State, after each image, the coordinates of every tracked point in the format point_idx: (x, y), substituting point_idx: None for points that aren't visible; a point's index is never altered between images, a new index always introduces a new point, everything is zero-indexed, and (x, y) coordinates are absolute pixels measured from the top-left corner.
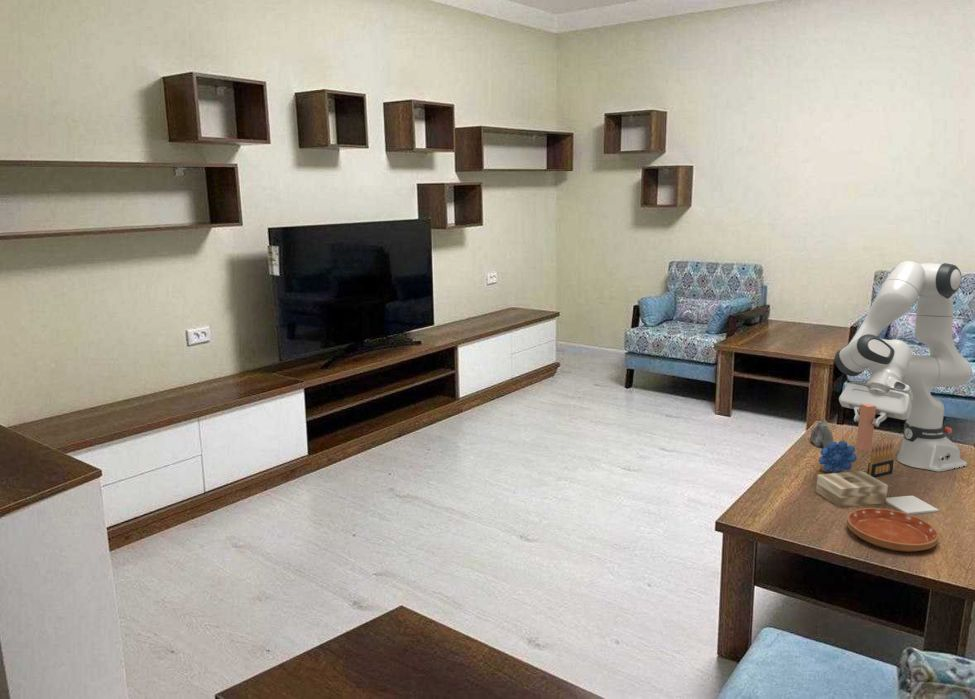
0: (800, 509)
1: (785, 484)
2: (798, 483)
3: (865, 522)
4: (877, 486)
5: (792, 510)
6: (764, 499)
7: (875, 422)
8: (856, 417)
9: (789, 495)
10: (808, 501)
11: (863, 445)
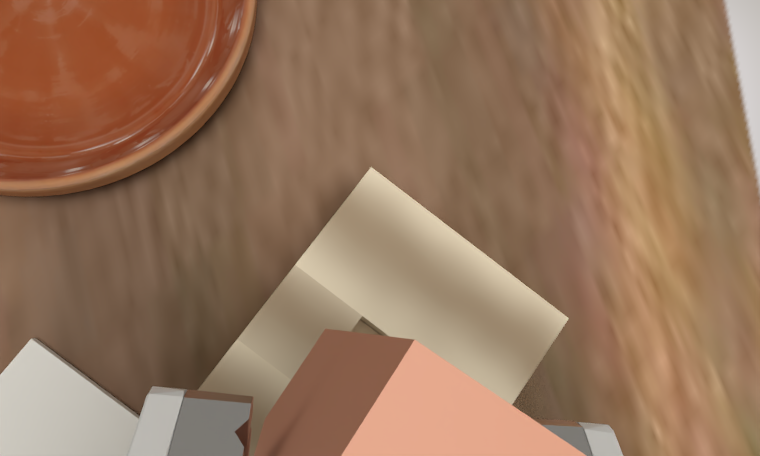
0: (494, 41)
1: (681, 314)
2: (640, 379)
3: (186, 47)
4: (204, 382)
5: (517, 7)
6: (665, 50)
7: (185, 402)
8: (581, 445)
9: (603, 178)
10: (504, 165)
11: (326, 331)
